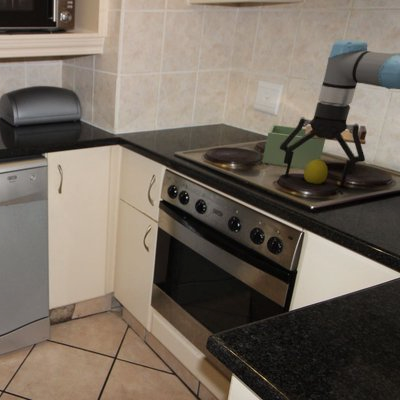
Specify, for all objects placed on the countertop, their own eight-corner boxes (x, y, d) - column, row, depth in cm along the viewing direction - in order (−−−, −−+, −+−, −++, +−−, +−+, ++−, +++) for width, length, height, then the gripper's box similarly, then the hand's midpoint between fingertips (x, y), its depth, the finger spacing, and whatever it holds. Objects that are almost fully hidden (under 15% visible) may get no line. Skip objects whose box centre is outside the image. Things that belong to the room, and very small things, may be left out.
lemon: (323, 191, 129) (329, 162, 127) (300, 187, 132) (306, 159, 129) (324, 185, 134) (330, 157, 131) (302, 182, 137) (307, 155, 134)
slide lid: (362, 134, 147) (365, 124, 146) (365, 144, 137) (368, 133, 136) (305, 128, 154) (308, 118, 153) (304, 136, 144) (306, 126, 143)
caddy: (318, 160, 156) (325, 131, 152) (317, 171, 145) (325, 140, 142) (266, 152, 162) (272, 124, 159) (262, 162, 152) (268, 132, 149)
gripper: (389, 106, 122) (365, 183, 130) (282, 95, 133) (266, 167, 141) (393, 112, 116) (367, 192, 124) (280, 99, 127) (263, 174, 135)
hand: (313, 179), depth 133 cm, fingers open, 13 cm apart
